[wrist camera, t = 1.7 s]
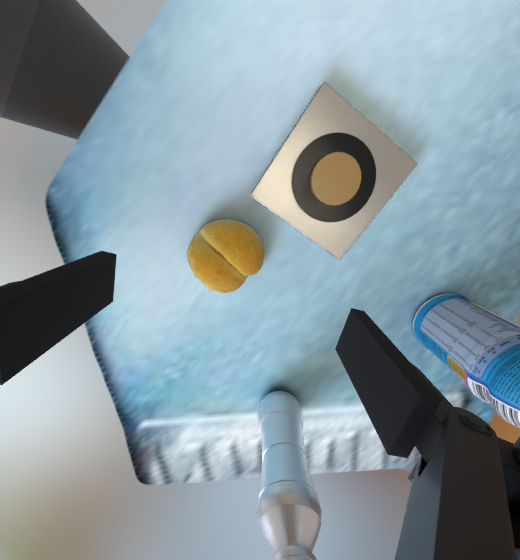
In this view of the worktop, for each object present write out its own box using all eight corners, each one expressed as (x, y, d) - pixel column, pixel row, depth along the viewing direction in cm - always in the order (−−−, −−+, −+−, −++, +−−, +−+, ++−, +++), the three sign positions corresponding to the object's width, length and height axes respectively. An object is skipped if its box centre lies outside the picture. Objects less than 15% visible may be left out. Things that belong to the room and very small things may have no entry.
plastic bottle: (277, 425, 41) (293, 622, 22) (248, 400, 40) (239, 589, 21) (308, 403, 40) (354, 593, 21) (280, 376, 38) (302, 556, 19)
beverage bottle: (420, 287, 34) (624, 407, 15) (481, 294, 34) (756, 419, 15) (401, 343, 37) (555, 504, 18) (459, 348, 37) (668, 512, 18)
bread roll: (275, 253, 32) (278, 261, 29) (223, 297, 34) (219, 310, 30) (230, 201, 30) (227, 202, 27) (177, 250, 32) (167, 258, 28)
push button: (250, 195, 30) (249, 195, 27) (320, 86, 27) (328, 74, 24) (335, 257, 33) (343, 263, 30) (410, 165, 29) (426, 162, 27)
